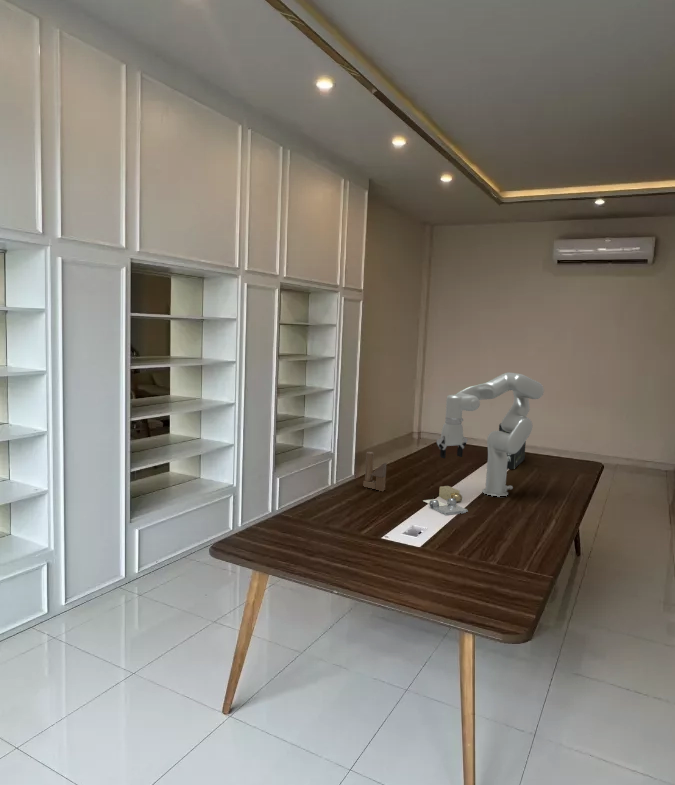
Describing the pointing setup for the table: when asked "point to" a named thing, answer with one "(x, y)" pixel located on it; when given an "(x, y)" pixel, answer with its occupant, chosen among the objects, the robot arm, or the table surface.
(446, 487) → the brass knob plate
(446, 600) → the table surface
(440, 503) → the pad
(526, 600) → the table surface
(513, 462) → the router box
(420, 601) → the table surface
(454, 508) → the hinge base
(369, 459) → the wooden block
